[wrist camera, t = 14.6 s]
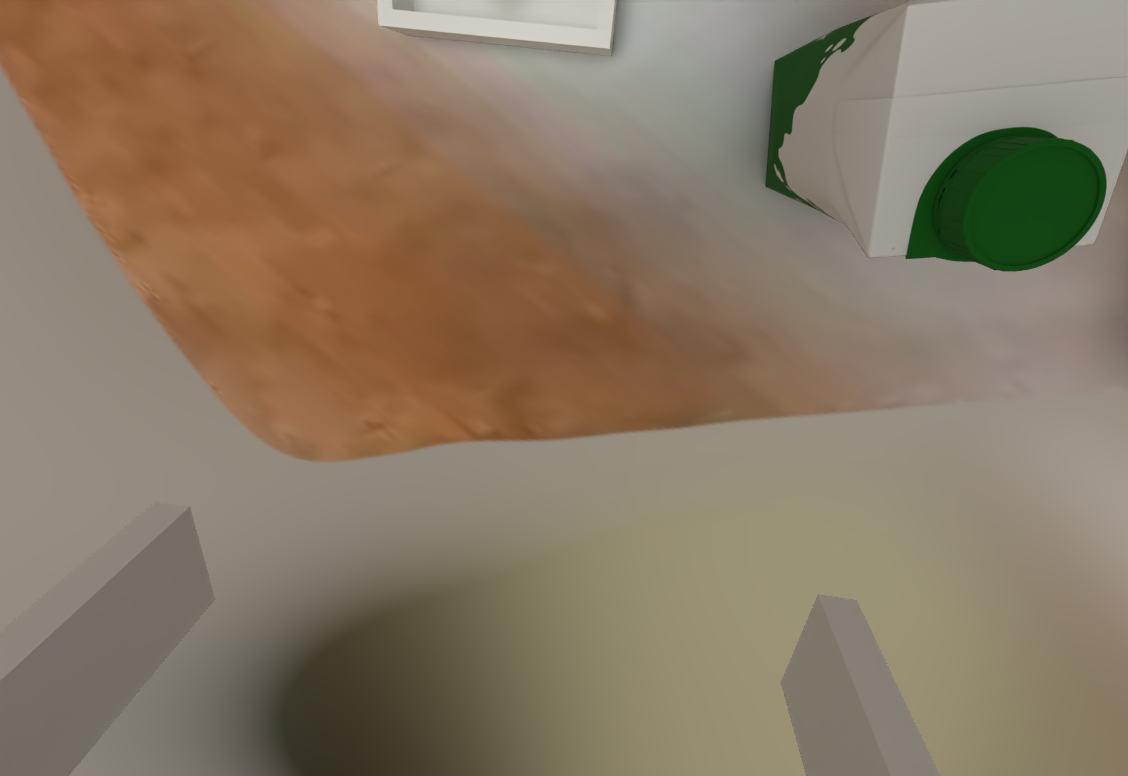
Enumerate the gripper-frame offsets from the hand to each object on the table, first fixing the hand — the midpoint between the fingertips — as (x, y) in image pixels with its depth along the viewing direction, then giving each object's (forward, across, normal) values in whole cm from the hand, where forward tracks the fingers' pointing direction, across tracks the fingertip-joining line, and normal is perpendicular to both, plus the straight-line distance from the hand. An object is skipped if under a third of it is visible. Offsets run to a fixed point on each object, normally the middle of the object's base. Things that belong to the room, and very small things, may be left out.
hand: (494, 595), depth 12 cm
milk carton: (+31, +14, +10) cm, 35 cm away
